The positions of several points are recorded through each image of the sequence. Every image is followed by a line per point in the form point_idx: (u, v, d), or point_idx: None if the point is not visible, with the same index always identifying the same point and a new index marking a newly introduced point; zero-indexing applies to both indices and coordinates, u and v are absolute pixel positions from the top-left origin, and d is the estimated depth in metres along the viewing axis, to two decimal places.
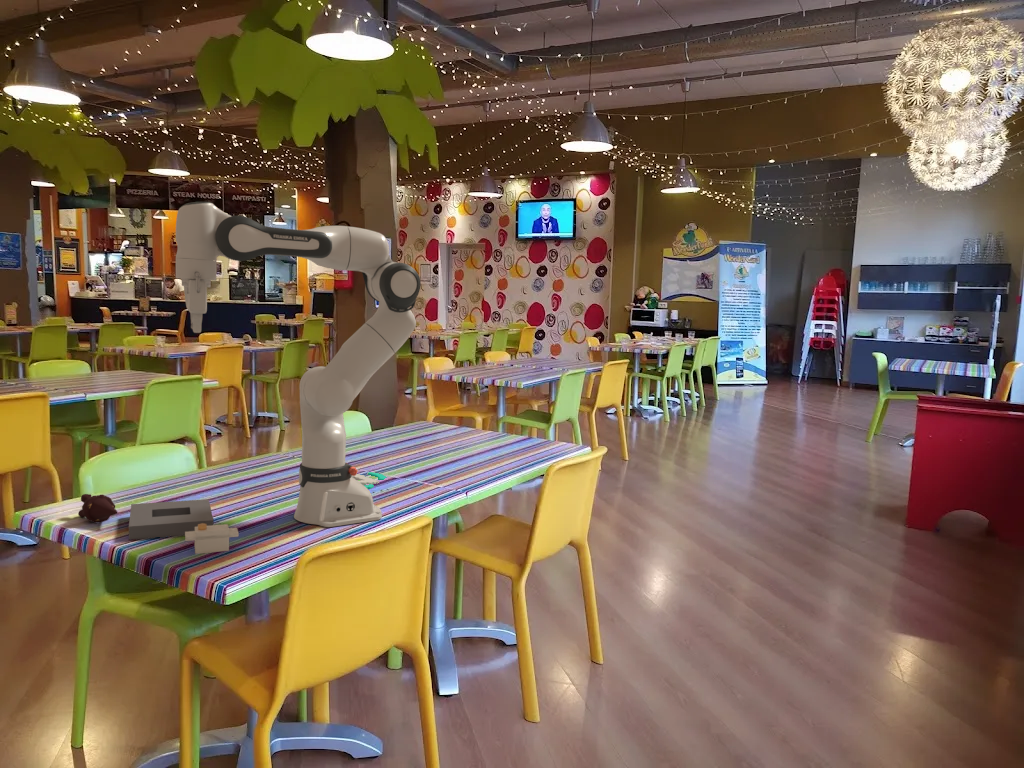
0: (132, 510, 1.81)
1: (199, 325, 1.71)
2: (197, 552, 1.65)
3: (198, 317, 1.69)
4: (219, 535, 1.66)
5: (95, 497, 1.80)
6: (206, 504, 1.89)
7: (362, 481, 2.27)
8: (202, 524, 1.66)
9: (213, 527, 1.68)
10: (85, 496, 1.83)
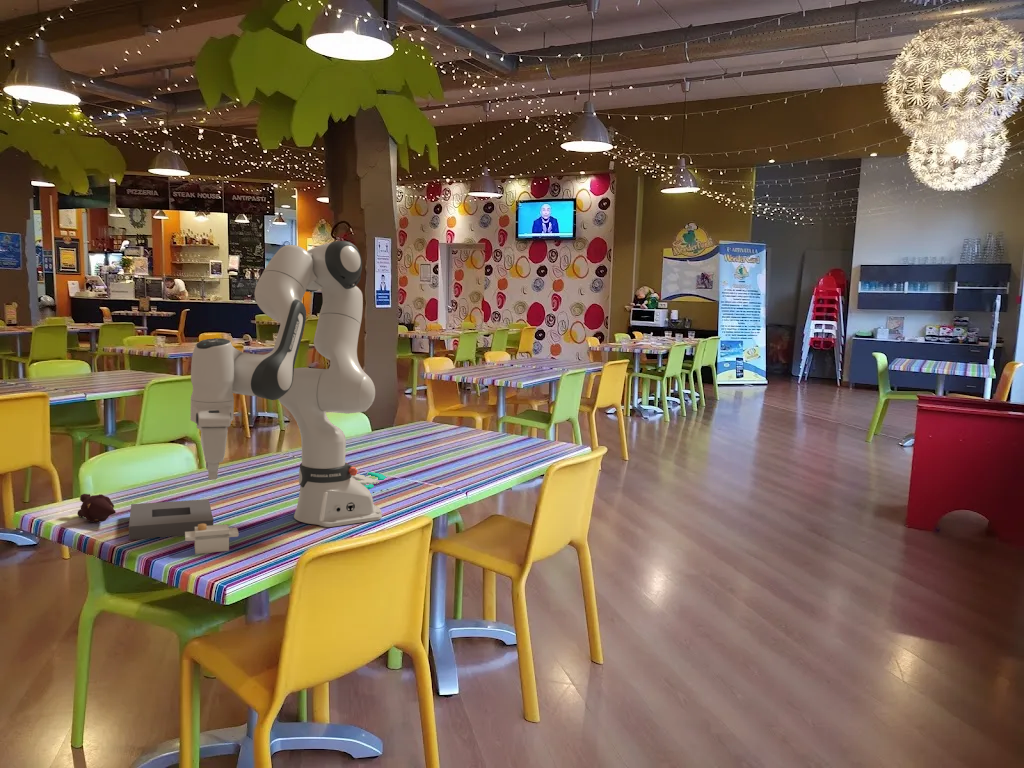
0: (132, 510, 1.81)
1: None
2: (197, 552, 1.65)
3: None
4: (219, 535, 1.66)
5: (94, 497, 1.80)
6: (206, 504, 1.89)
7: (362, 481, 2.27)
8: (202, 524, 1.66)
9: (213, 527, 1.68)
10: (84, 496, 1.83)
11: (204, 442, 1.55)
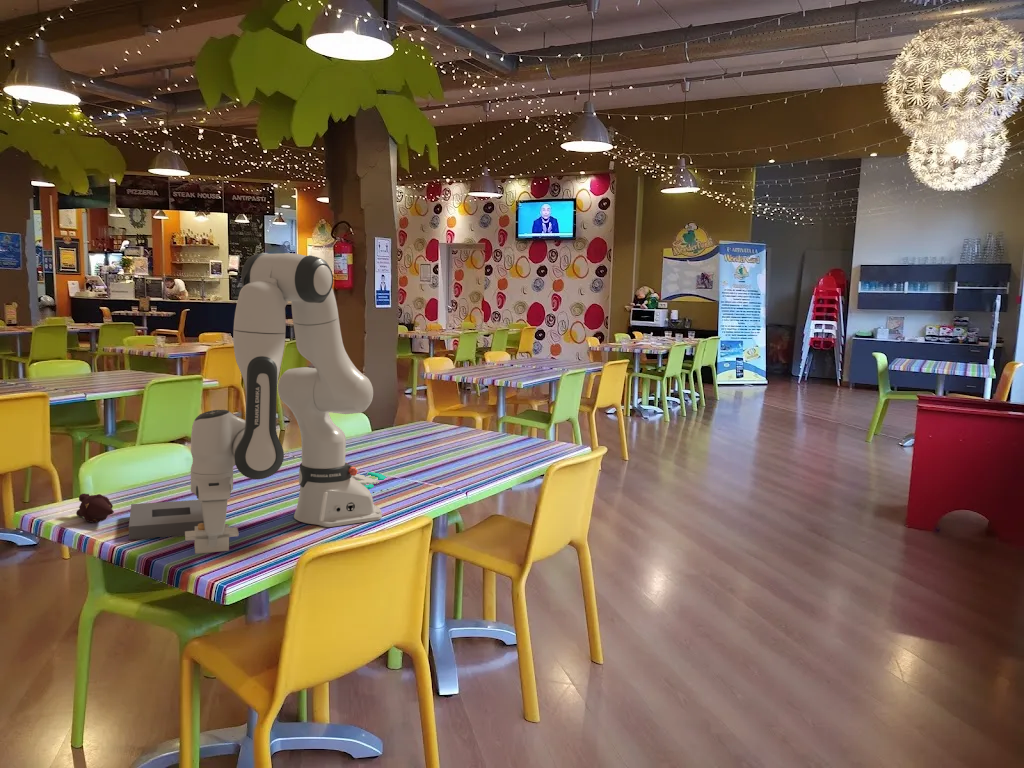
0: (132, 510, 1.81)
1: None
2: (197, 552, 1.65)
3: None
4: None
5: (92, 497, 1.80)
6: None
7: (362, 481, 2.27)
8: (202, 523, 1.66)
9: None
10: (83, 496, 1.84)
11: (204, 516, 1.57)
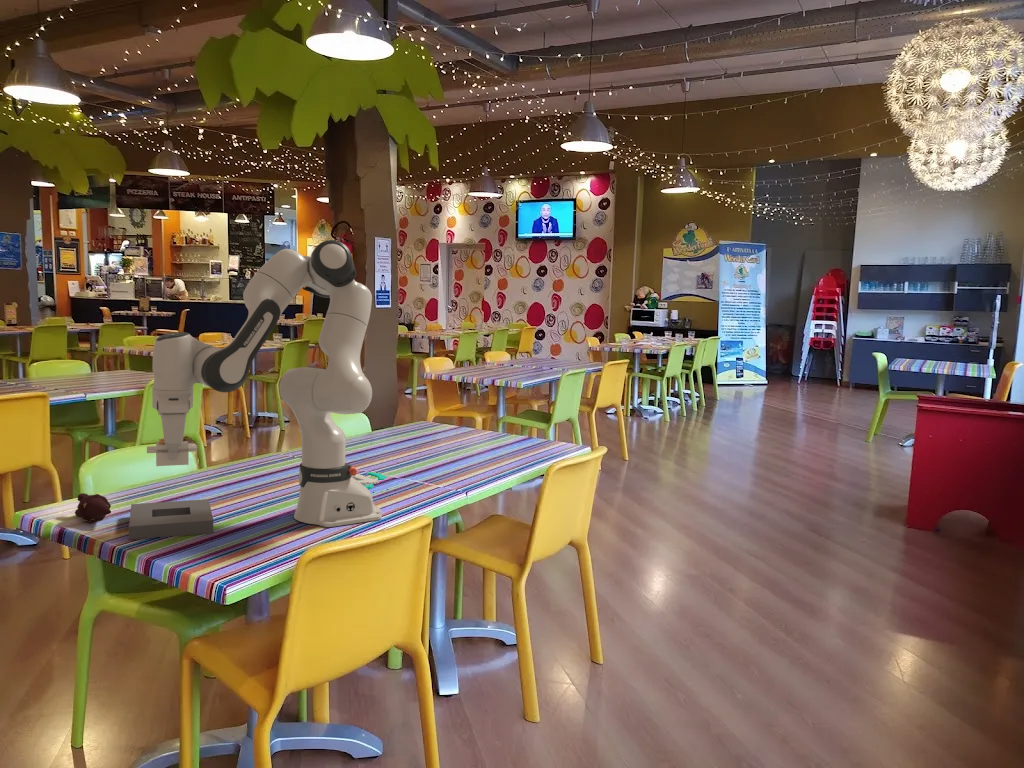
0: (132, 510, 1.81)
1: None
2: (158, 464, 1.76)
3: None
4: (179, 449, 1.78)
5: (90, 496, 1.80)
6: (206, 504, 1.89)
7: (362, 481, 2.27)
8: (163, 439, 1.78)
9: None
10: (81, 495, 1.84)
11: (164, 427, 1.69)
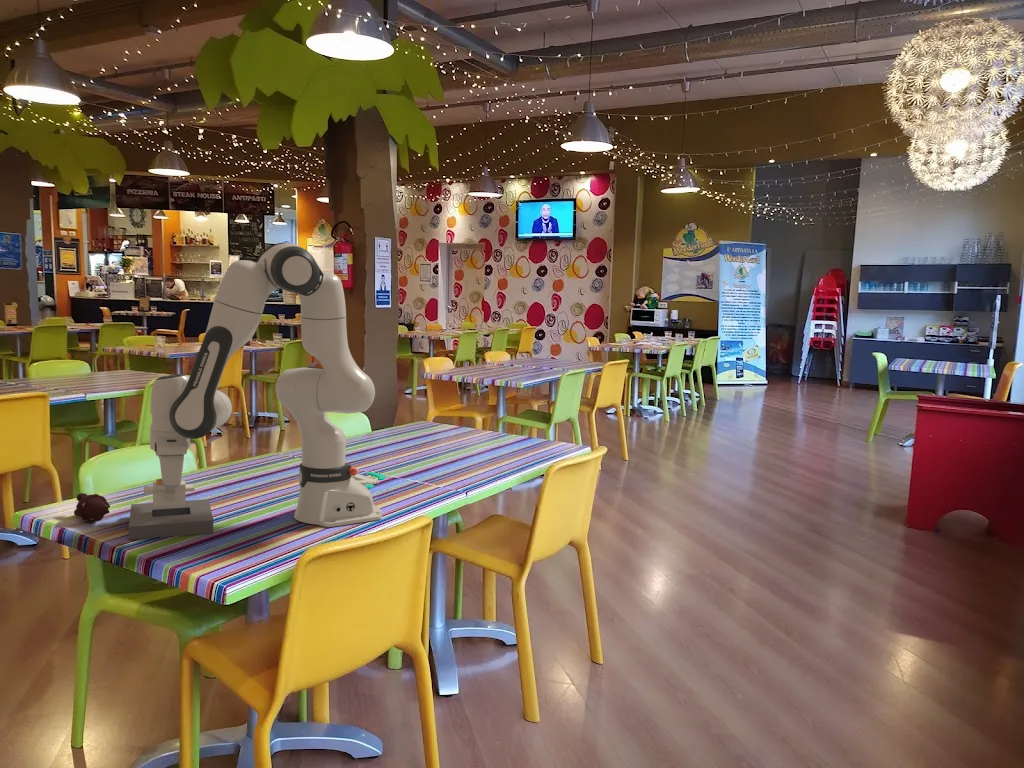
0: (132, 510, 1.81)
1: None
2: (155, 505, 1.77)
3: None
4: (176, 489, 1.79)
5: (89, 496, 1.80)
6: (206, 504, 1.89)
7: (362, 481, 2.27)
8: (160, 479, 1.79)
9: None
10: (80, 495, 1.84)
11: (162, 469, 1.70)
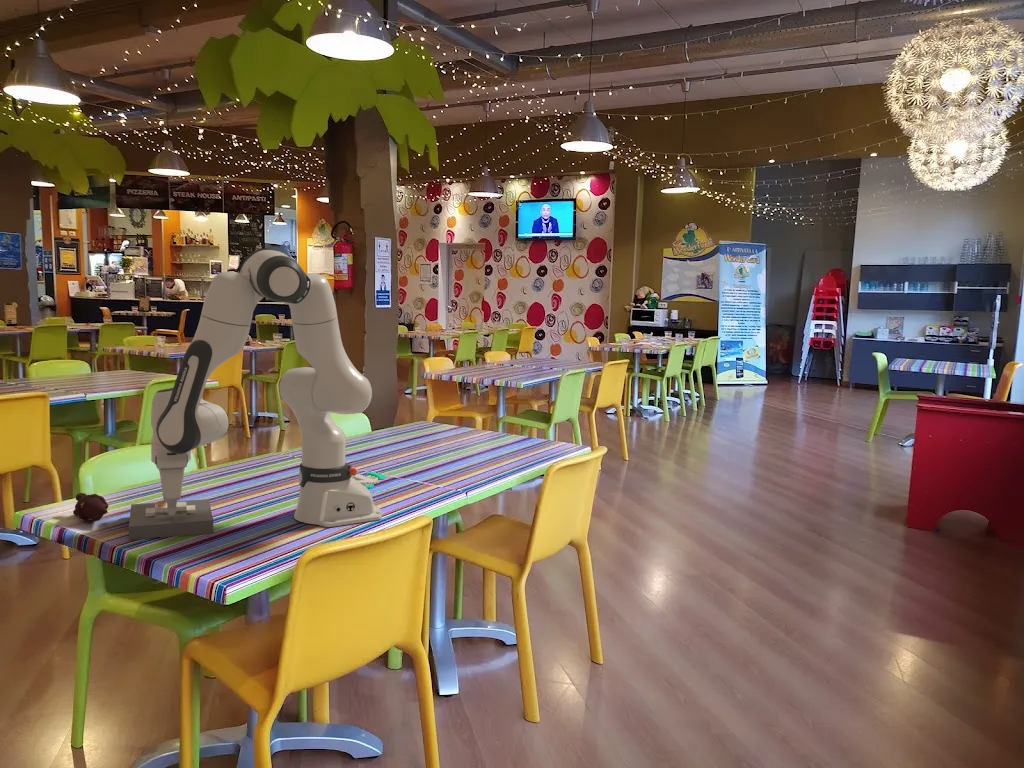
0: (132, 510, 1.81)
1: None
2: None
3: None
4: (177, 511, 1.80)
5: (87, 496, 1.80)
6: (206, 504, 1.89)
7: (362, 481, 2.27)
8: (162, 501, 1.81)
9: None
10: (80, 495, 1.84)
11: (162, 482, 1.71)
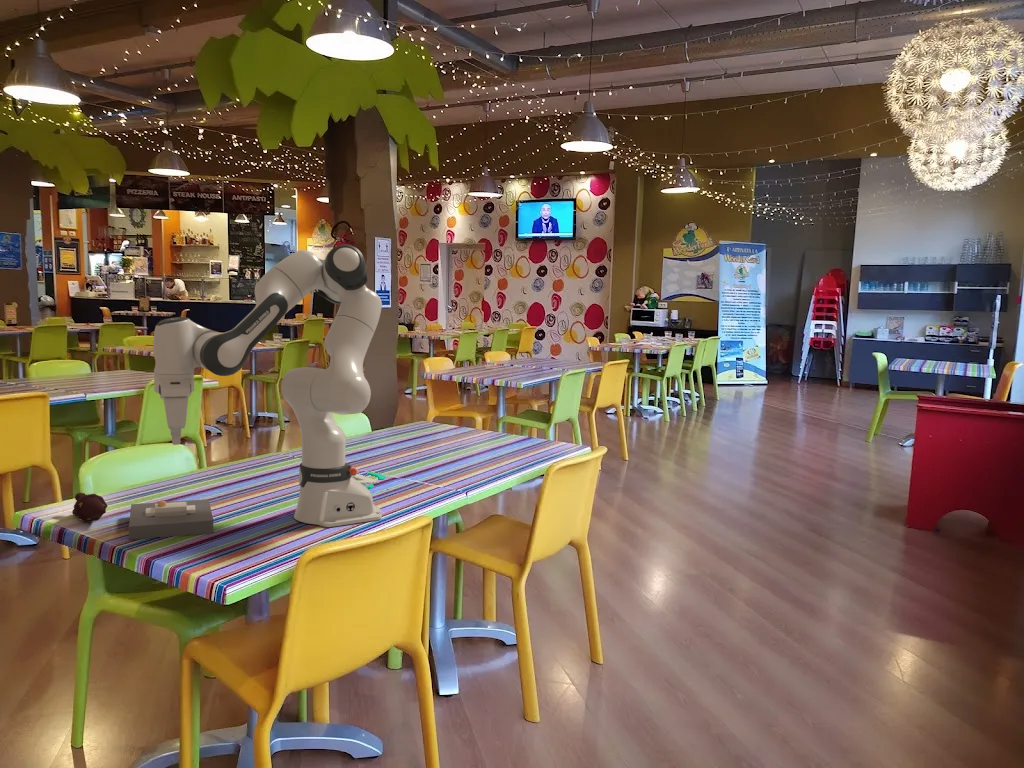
0: (132, 510, 1.81)
1: None
2: None
3: None
4: (177, 511, 1.80)
5: (86, 496, 1.80)
6: (206, 504, 1.89)
7: (362, 481, 2.27)
8: (162, 501, 1.81)
9: (172, 504, 1.82)
10: (79, 495, 1.84)
11: (166, 410, 1.72)
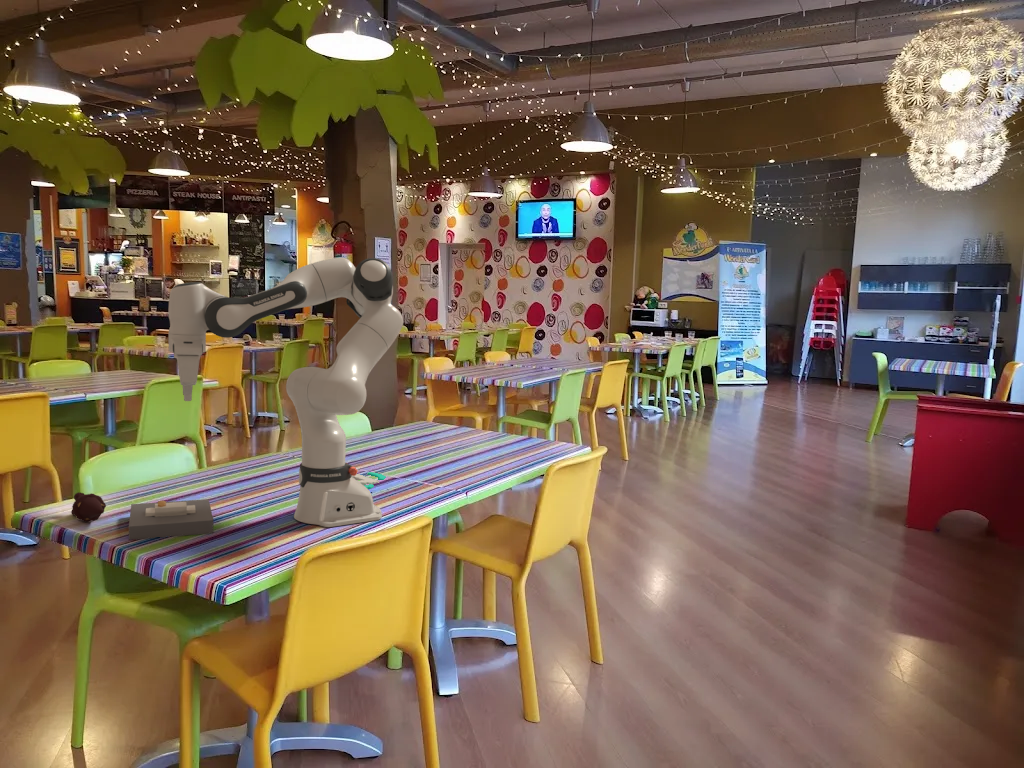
0: (132, 510, 1.81)
1: None
2: None
3: None
4: (177, 511, 1.80)
5: (85, 496, 1.80)
6: (206, 504, 1.89)
7: (362, 481, 2.27)
8: (162, 501, 1.81)
9: (172, 504, 1.82)
10: (78, 494, 1.84)
11: (179, 367, 1.83)
